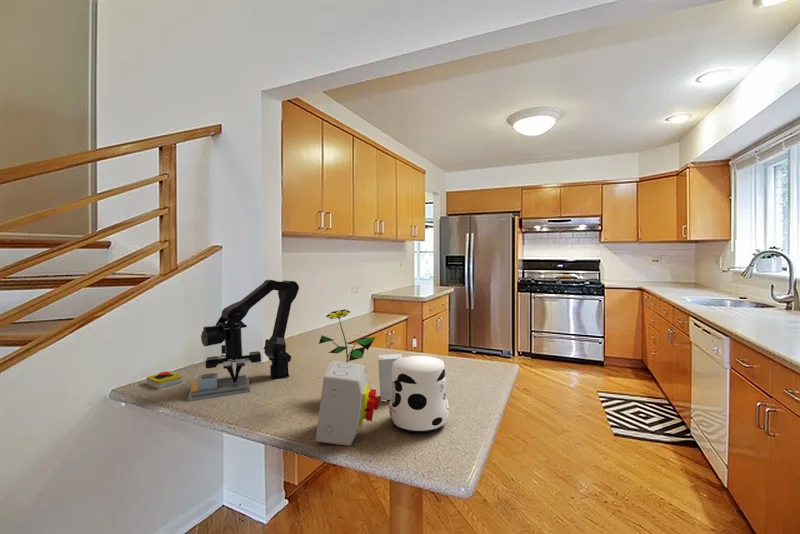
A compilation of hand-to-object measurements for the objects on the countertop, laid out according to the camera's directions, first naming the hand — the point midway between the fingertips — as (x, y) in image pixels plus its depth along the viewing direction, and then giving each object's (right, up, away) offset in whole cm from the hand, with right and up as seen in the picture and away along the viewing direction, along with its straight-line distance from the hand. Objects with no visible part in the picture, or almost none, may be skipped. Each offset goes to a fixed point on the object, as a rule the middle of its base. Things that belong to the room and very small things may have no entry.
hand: (235, 382), depth 142 cm
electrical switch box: (+48, -4, -36) cm, 60 cm away
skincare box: (+59, -2, -12) cm, 60 cm away
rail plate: (-5, -3, -1) cm, 6 cm away
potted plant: (+44, -3, -13) cm, 46 cm away
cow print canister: (+67, -3, -31) cm, 74 cm away
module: (-8, -2, -4) cm, 9 cm away
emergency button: (-31, -3, +7) cm, 32 cm away
